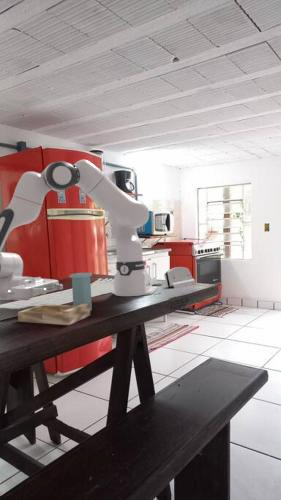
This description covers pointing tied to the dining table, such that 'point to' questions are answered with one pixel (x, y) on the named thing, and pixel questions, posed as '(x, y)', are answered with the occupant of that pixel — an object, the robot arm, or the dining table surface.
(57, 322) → the keyhole board
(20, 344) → the dining table surface
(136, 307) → the dining table surface
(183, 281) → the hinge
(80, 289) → the post
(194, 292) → the dining table surface
